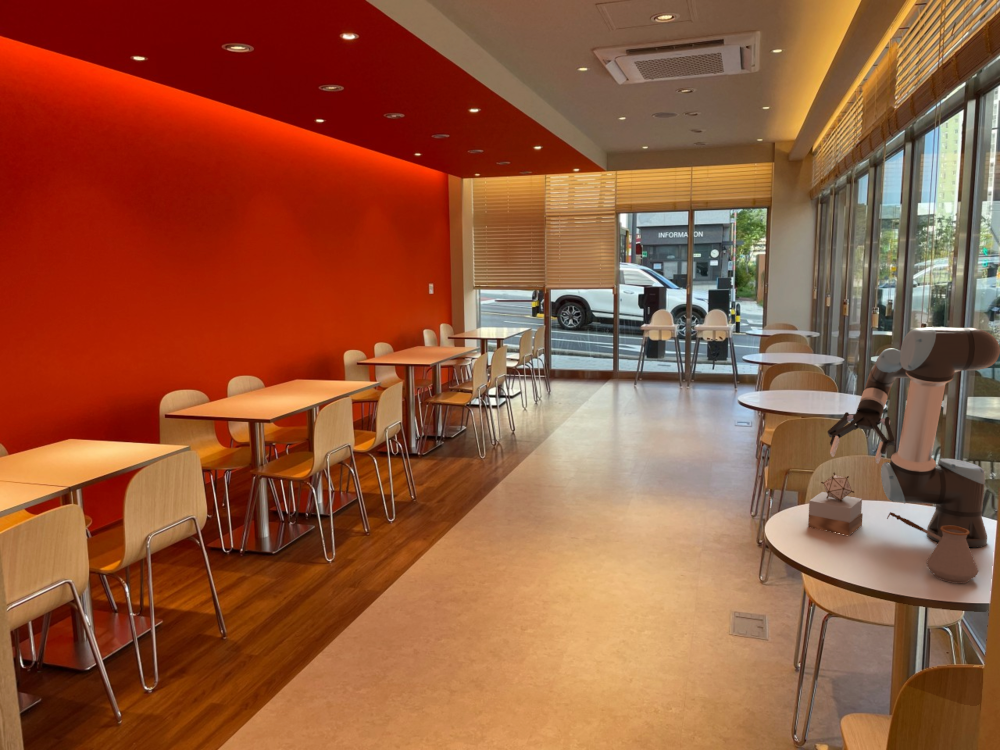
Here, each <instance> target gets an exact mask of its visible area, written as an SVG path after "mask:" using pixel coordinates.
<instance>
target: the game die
mask: <svg viewBox="0 0 1000 750" xmlns="http://www.w3.org/2000/svg"><path fill="white" fill-rule="evenodd" d="M849 478H850V476H849V475H848V476H841V475H837V474H836V472H833V475H831V476H830V477H829V478H828V479H827V480H825V481H820V483H821V484H822V485H823V486H824V489H825V492H827V495H828V496H827V497H826V498H828V497H832V498H835V499H839V500H840V502H842V499H843V498H844V497H845V496H848V495H850V494H851V493H853V494H854V493H855V491H854V490H852V487H851V486H850V482H849Z"/></svg>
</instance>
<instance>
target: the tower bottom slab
mask: <svg viewBox="0 0 1000 750" xmlns="http://www.w3.org/2000/svg"><path fill="white" fill-rule="evenodd" d="M863 515H864V514H863V512H861V513H860V514H859V515H858V516H857V517H856V518H855V519H854V520H852V521H851V522H850V523H849V522H843V521H838V520H833V519H828V518H823V517H818V516H813V515H809V514H808V525H807V526H808V528H810V527H811V528H810V529H815V528H816V529H815V530H819V529H821V530H820V531H824V530H827V531H826V532H828V531H831V532H830V533H833V532H836V533H835V534H837V533H840V534H839V535H842V534H844V535H843V536H846V535H848V536H847V537H850V536H851V535H852V534H853V533H854V531H855V530H856V529H857V530H859V529H860V528H861V527H863ZM860 526H861V527H860ZM859 527H860V528H859ZM858 528H859V529H858ZM857 530H856V531H857ZM856 531H855V532H856ZM852 532H853V533H852ZM851 533H852V534H851ZM850 534H851V535H850Z"/></svg>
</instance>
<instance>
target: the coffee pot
mask: <svg viewBox="0 0 1000 750" xmlns="http://www.w3.org/2000/svg"><path fill="white" fill-rule="evenodd" d="M890 516H892V517H895V518H896V520H900V521H901V522H902V523H904V524H905V525H907V526H909V527H912V528H913V529H916V530H918V531H921V532H922V533H925V534H926V535H927V534H928V535H930V536H932V537H934V538H936V539H938V540H940V541H939V542H937V544H936V545H935V547H934V549H933V551H932V552H931V554H930V556H929V557H928V559H927V560H926V566H927V569H928V570H929V571H930V573H932V574H933V575H934V577H935V578H937V579H939V580H941V581H945V582H948V583H953V584H965V583H968V582H969V581H971V580H973V579H974V578H976V577H977V575H978V573H979V568H978V566H977V563H976V561H975V558H974V556H973V554H972V552H971V548H969V546H968V543H967V541H966V537H967V535H968V534H969V533H970V532H969V531H968V530H967V529H965V528H962V527H958V526H942V527H941V528H940V529H941V530H942V533H943V536H942V537H940V536H938V535H936V534H934V533H931V532H929V531H927V529H925V528H924V527H922V526H920V525H919V524H916V523H915V522H913V521H912V520H910V519H907V518H904V517H902V516H901V515H899V514H898V515H897V514H896V513H894V512H891V511H890V512H889V513H888V515H887V518H886V519H887V520H888V519H889V518H890Z"/></svg>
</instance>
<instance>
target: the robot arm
mask: <svg viewBox="0 0 1000 750" xmlns="http://www.w3.org/2000/svg"><path fill="white" fill-rule="evenodd" d="M999 357H1000V344H999V341H998V340H997V338H995V336H993V335H992V334H991V333H989V332H988V331H985V330H983V329H980V328H975V327H932V326H927V327H916V328H913V329H911V330H910V331H908V332H907V333H906V335H905V336H904V338H903V340H902V343H901V346H900V349H896V348H894V347H893V348H891V347H890V348H886V349H884V350H883V351H882V352H881V353H879V355H878V356H877V359H876V361H875V363H874V365H872V367H871V369H870V371H869V373H868V377H867V380H866V383H865V386H864V389H863V392H862V394H861V397H860V400H859V402H858V406H857V408H856V412H855V414H854V415H853V414H850V413H849V412H845V413H844V414H843V417H842V418H841V419H839V420H838V421H837V422H836V423H835V424H834V425H832V426H831V428H829V430H827V434H828V436H829V438H831V440H830V442H829V445H830V447H831V448H830V450H829V453H830V456H831V457H833V458H835V455H836V453H837V449H838V447H839V445H840V441H841V440H840V438H842V437H843V436H845V435H848V434H849V433H851V432H852V431H855V430H857V429H860V430H867V431H871V430H873V432H874V433H875V434H876V435H877V437H878V438H879V439H880V441H879V444H878V447H877V450H876V454H875V456H874V460H875V463H876V464H880V461H881V459H882V455H886V453H887V450H888V447H889V446H892V447H894V446H896V441H895V438H894V434H893V432H892V429H891V424H892V423H891V419H890V417H889V416H885V418H884V417H883V418H882V416H883V413H884V411H885V407H886V404H887V400H888V397H889V394H890V392H891V388H892V387H893V384H894V382H895V381H896V379H897V378H898V379H901V378H902V379H910V381H909V385H908V393H907V397H906V404H905V410H904V415H903V421H902V426H901V427H902V428H901V433H900V439H899V444H898V450H897V451H896V452H894V453H892V455H891V456H890V460H889V462H888V461H886V462H883V463H882V465H881V469H880V477H881V479H880V480H881V483H882V485H881V486H882V489H883V492H884V494H885V496H886V498H887V499H888V500H889V501H890V502H893V503H903V504H927V505H935V509H934V513H933V515H932V517H931V519H930V521H929V523H928V525H927V527H926V530H927V531H929V532H931V533H934V534H936V535H938V536H940V537H942V536H943V533H942V530H941V529H940V528H941V527H942V526H958V527H962V528H965V529H967V530H968V531H969V532H970V533H969V534H968V535H967V537H966V541H967V543H968V546H969V547H978V548H982V547H981V546H983V547H985V546H987V545H988V534H987V531H986V526H985V524H984V520H983V504H984V495H985V485H986V479H985V477H986V475H985V474H986V473H985V470H984V469H983V468H982V467H981V466H980V465H977V464H975V463H971V462H968V461H964V460H960V459H955V458H940V459H939V460H938V462H937V461H936V460H934V458H933V457H932V456H933V451H934V447H935V439H936V435H937V430H938V424H939V419H940V415H941V409H942V404H943V400H944V396H945V395H944V393H945V388H946V384H947V383H950V382H952V381H953V380H954V376H955V373H957V372H961V371H962V372H963V371H980V370H984V369H987V368H989V367H991V366H993V365H994V364H995V363H996V362H997V361H998V360H999ZM881 423H882V425H884V426H885V429H886V430H885V431H886V433H887V436H888V438H889V439H888V438H887V437H886V436H885V435H884V433H883V431H882V430H881V429H880V427H879V426H878V425H880V424H881ZM926 536H927V537H928V538H929V539H930V540H933V541H934V542H937V543H939V541H940V540H938V539H936V538H934V537H932V536H930V535H928V534H927V533H926Z"/></svg>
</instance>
